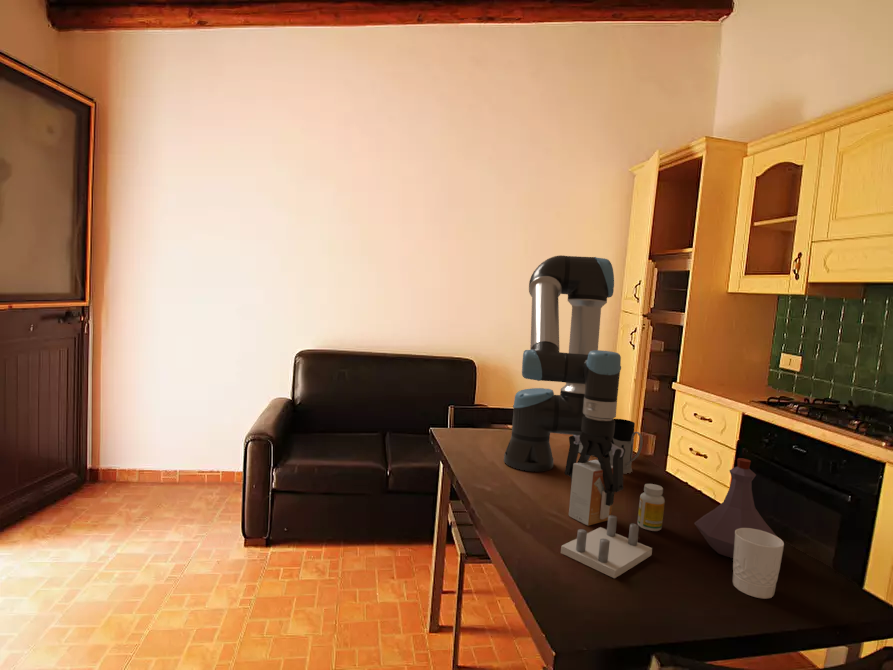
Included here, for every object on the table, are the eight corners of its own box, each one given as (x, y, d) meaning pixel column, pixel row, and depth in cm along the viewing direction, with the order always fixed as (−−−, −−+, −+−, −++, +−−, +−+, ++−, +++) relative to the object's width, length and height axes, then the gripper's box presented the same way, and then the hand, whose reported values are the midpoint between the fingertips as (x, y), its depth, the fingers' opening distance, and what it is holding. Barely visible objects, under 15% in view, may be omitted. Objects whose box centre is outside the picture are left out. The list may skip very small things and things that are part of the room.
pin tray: (560, 552, 109) (563, 526, 108) (599, 533, 119) (602, 509, 118) (614, 578, 100) (617, 550, 100) (651, 555, 110) (654, 529, 110)
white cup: (720, 577, 103) (726, 527, 102) (758, 577, 104) (764, 528, 103) (746, 600, 95) (752, 546, 95) (787, 601, 96) (794, 547, 95)
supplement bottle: (632, 523, 126) (636, 483, 125) (648, 520, 128) (652, 481, 127) (650, 533, 121) (654, 492, 120) (667, 529, 123) (671, 489, 123)
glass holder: (620, 463, 172) (625, 418, 171) (650, 479, 159) (655, 429, 157) (597, 464, 169) (601, 418, 168) (625, 480, 156) (630, 430, 155)
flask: (741, 575, 104) (753, 476, 103) (675, 538, 119) (684, 450, 118) (796, 563, 111) (808, 469, 109) (727, 529, 126) (736, 446, 124)
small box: (588, 526, 122) (593, 471, 121) (567, 516, 127) (572, 462, 126) (611, 520, 127) (616, 466, 126) (590, 510, 132) (595, 458, 131)
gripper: (554, 409, 130) (546, 501, 131) (630, 428, 115) (620, 531, 117) (571, 406, 135) (564, 495, 137) (646, 424, 121) (636, 523, 122)
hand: (590, 511), depth 127 cm, fingers closed on small box, 7 cm apart
